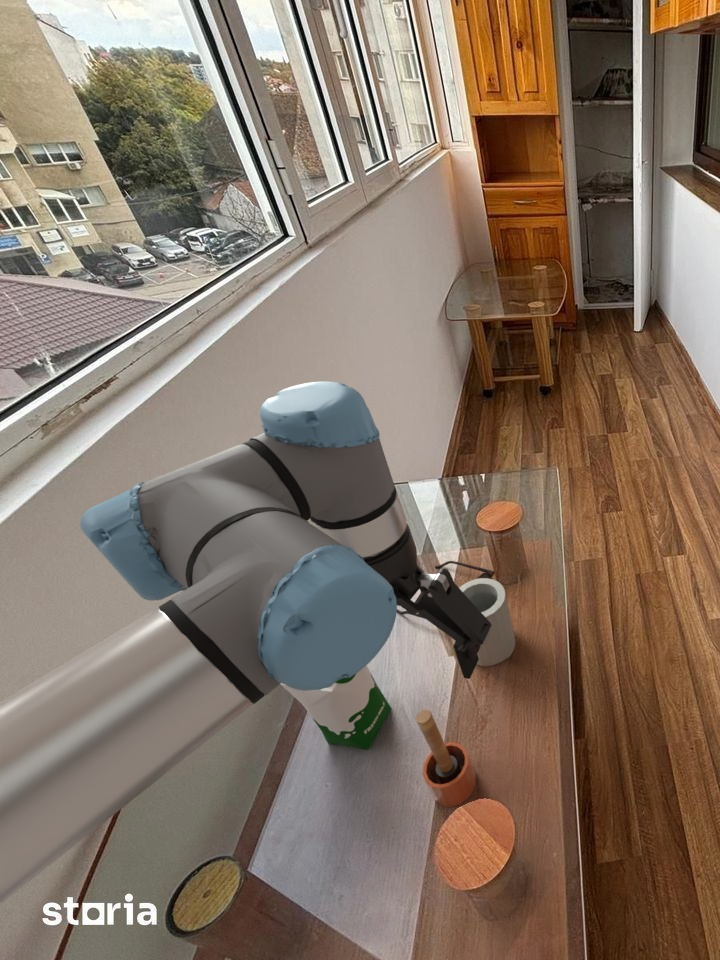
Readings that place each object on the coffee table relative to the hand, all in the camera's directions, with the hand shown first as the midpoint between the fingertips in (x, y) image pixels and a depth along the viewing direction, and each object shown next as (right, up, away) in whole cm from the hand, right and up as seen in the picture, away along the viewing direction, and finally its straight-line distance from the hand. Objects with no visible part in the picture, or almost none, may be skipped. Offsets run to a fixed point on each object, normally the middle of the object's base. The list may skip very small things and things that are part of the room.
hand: (419, 660), depth 63 cm
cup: (-1, -9, +33) cm, 34 cm away
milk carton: (-19, -18, +21) cm, 33 cm away
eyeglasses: (-13, -2, +42) cm, 44 cm away
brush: (-1, -23, +14) cm, 27 cm away
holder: (-1, -24, +14) cm, 28 cm away
